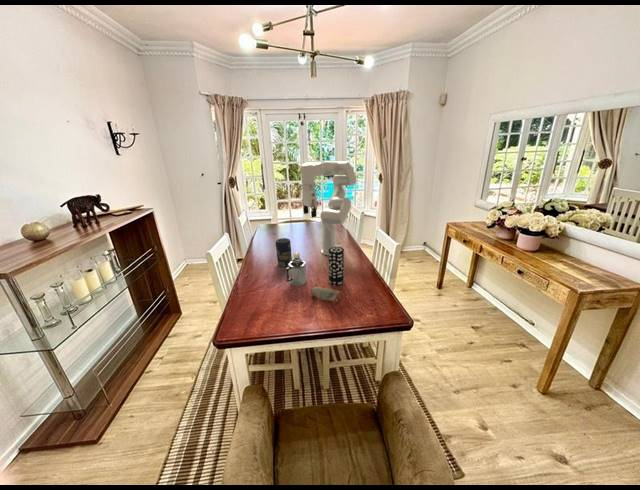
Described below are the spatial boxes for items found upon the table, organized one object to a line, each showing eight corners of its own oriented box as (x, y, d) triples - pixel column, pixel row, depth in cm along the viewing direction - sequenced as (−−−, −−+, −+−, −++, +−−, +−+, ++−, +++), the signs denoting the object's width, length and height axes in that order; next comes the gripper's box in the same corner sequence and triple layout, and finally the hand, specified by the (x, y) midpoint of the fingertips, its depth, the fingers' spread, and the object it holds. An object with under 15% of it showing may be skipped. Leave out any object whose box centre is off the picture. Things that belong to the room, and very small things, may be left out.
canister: (289, 267, 160) (287, 241, 153) (275, 267, 162) (272, 241, 155) (294, 261, 169) (292, 236, 162) (280, 260, 170) (278, 235, 164)
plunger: (300, 275, 146) (298, 250, 140) (304, 279, 141) (303, 253, 135) (291, 277, 143) (289, 252, 137) (295, 282, 138) (294, 256, 133)
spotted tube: (345, 279, 144) (345, 247, 137) (341, 287, 137) (341, 253, 129) (331, 277, 147) (331, 246, 139) (327, 284, 139) (326, 252, 132)
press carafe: (301, 276, 149) (300, 258, 144) (309, 283, 141) (308, 264, 137) (284, 282, 143) (282, 263, 139) (290, 289, 136) (289, 269, 132)
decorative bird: (315, 293, 132) (314, 281, 129) (342, 302, 124) (342, 289, 122) (309, 298, 128) (308, 286, 125) (337, 307, 120) (337, 294, 117)
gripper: (321, 187, 140) (322, 217, 146) (307, 184, 154) (308, 211, 160) (310, 189, 136) (311, 219, 143) (296, 185, 150) (298, 213, 157)
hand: (309, 215), depth 152 cm, fingers open, 9 cm apart
